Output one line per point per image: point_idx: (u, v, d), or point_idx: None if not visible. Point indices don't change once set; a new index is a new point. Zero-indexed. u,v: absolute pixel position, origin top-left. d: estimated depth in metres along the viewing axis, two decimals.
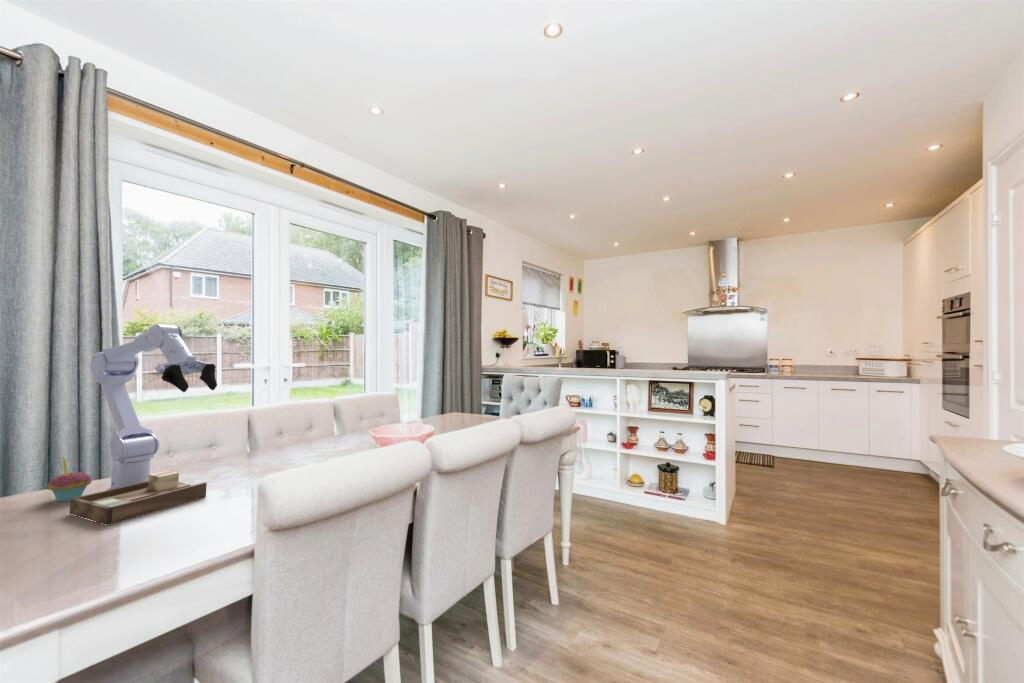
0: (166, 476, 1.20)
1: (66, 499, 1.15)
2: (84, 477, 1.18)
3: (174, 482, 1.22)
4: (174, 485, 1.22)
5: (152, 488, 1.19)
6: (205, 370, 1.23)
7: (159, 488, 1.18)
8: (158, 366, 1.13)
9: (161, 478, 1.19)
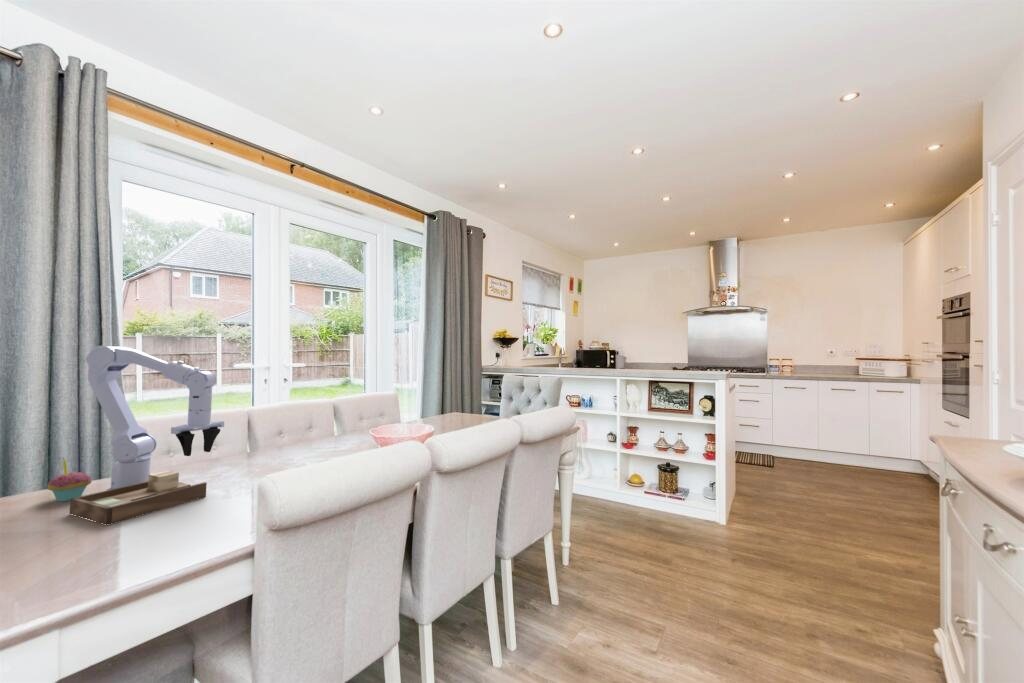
0: (166, 476, 1.20)
1: (66, 499, 1.15)
2: (84, 477, 1.18)
3: (174, 482, 1.22)
4: (174, 485, 1.22)
5: (152, 488, 1.19)
6: (209, 432, 1.33)
7: (159, 488, 1.18)
8: (174, 429, 1.23)
9: (161, 478, 1.19)
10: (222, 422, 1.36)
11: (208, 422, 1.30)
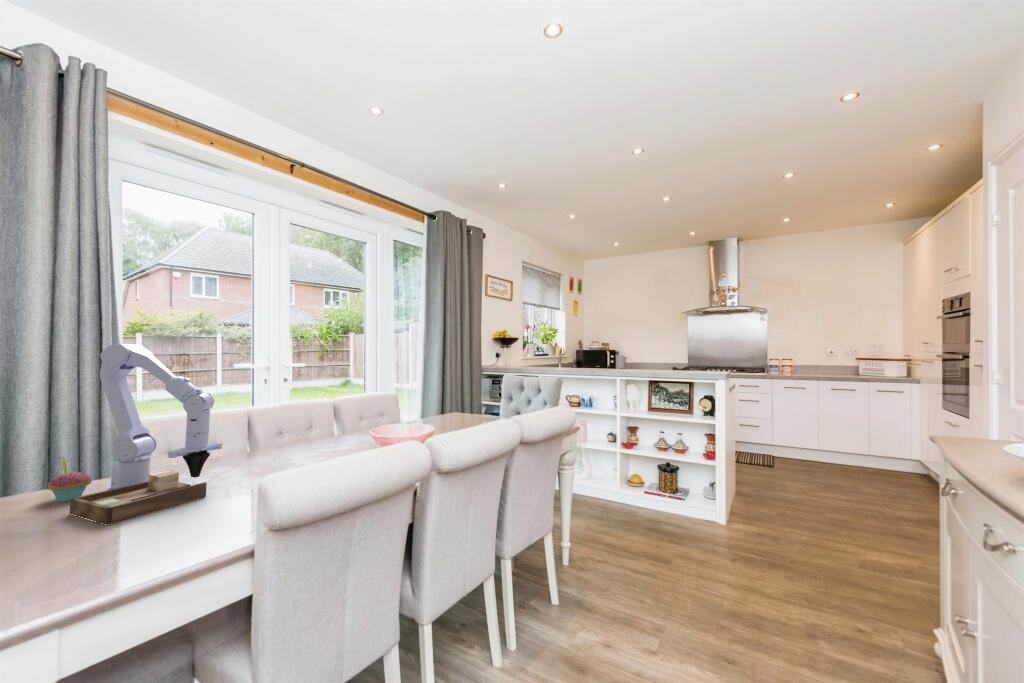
0: (166, 476, 1.20)
1: (66, 499, 1.15)
2: (84, 477, 1.18)
3: (174, 482, 1.22)
4: (174, 485, 1.22)
5: (152, 488, 1.19)
6: None
7: (159, 488, 1.18)
8: (171, 454, 1.23)
9: (161, 478, 1.19)
10: (220, 444, 1.36)
11: (206, 445, 1.30)
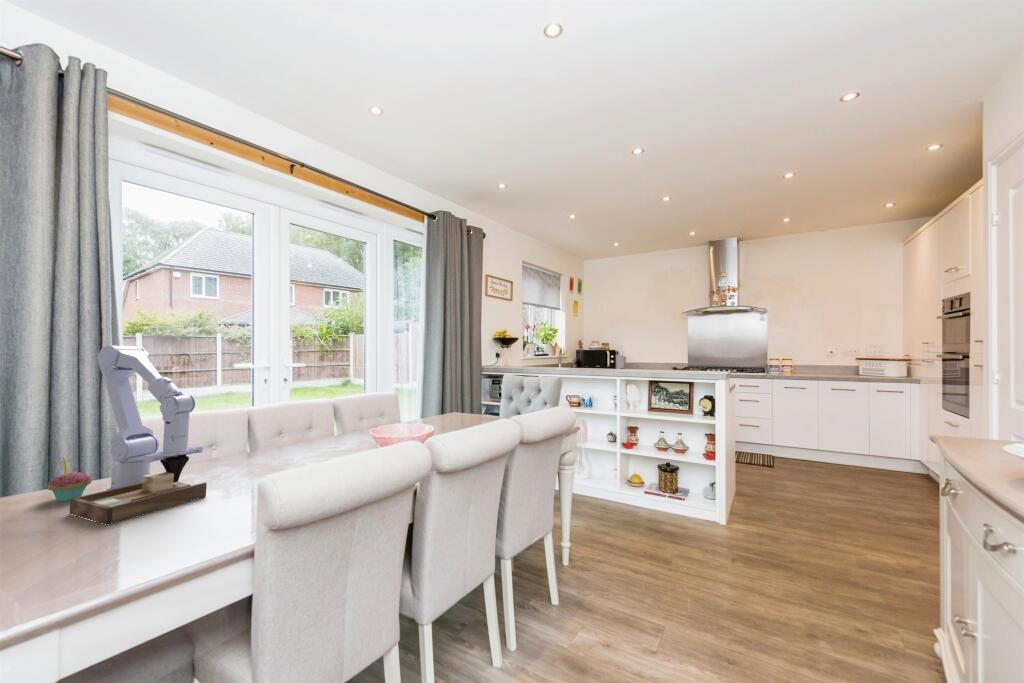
0: (161, 477, 1.19)
1: (66, 499, 1.15)
2: (84, 477, 1.18)
3: (169, 484, 1.21)
4: (169, 486, 1.21)
5: (146, 489, 1.18)
6: None
7: (154, 489, 1.17)
8: (148, 458, 1.17)
9: (156, 479, 1.17)
10: (200, 447, 1.30)
11: (185, 449, 1.24)
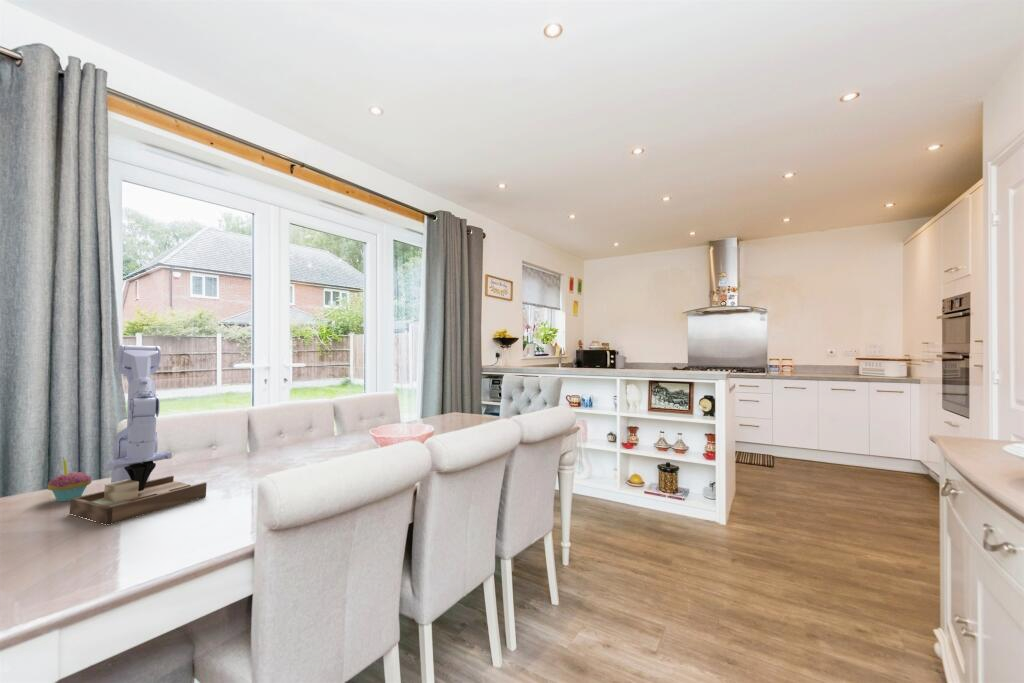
0: (124, 486, 1.11)
1: (66, 499, 1.15)
2: (84, 477, 1.18)
3: (133, 492, 1.12)
4: (133, 495, 1.13)
5: (108, 499, 1.10)
6: None
7: (116, 499, 1.09)
8: (109, 465, 1.09)
9: (118, 488, 1.09)
10: (169, 453, 1.22)
11: (151, 455, 1.16)
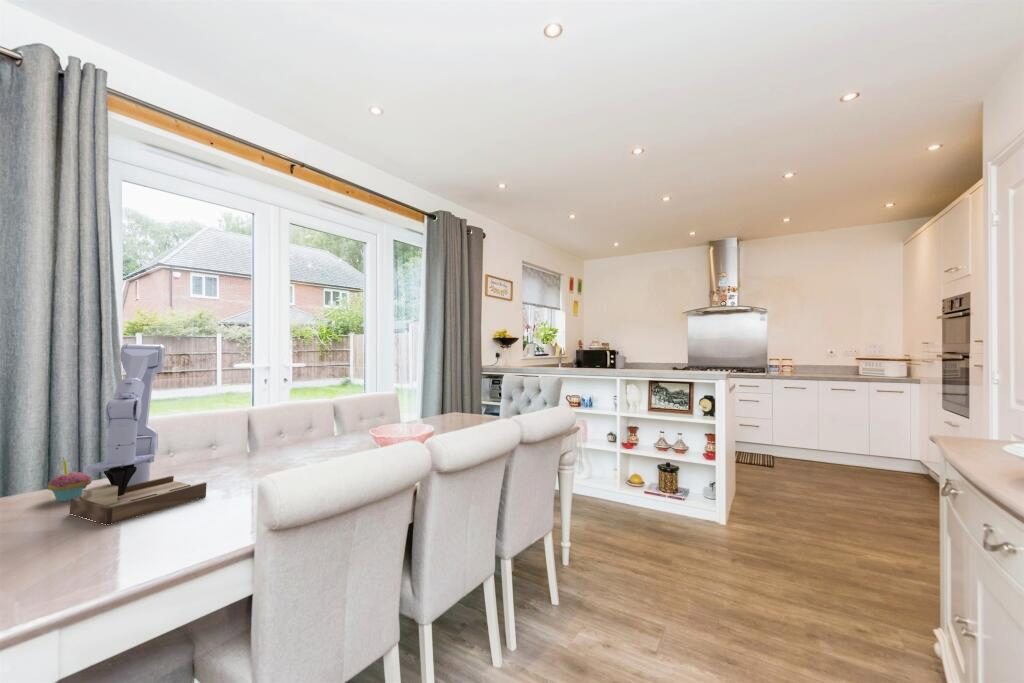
0: (102, 491, 1.06)
1: (66, 499, 1.15)
2: (84, 477, 1.18)
3: (112, 498, 1.08)
4: (112, 501, 1.08)
5: None
6: None
7: None
8: (86, 469, 1.05)
9: (96, 493, 1.05)
10: (151, 456, 1.18)
11: (132, 458, 1.12)
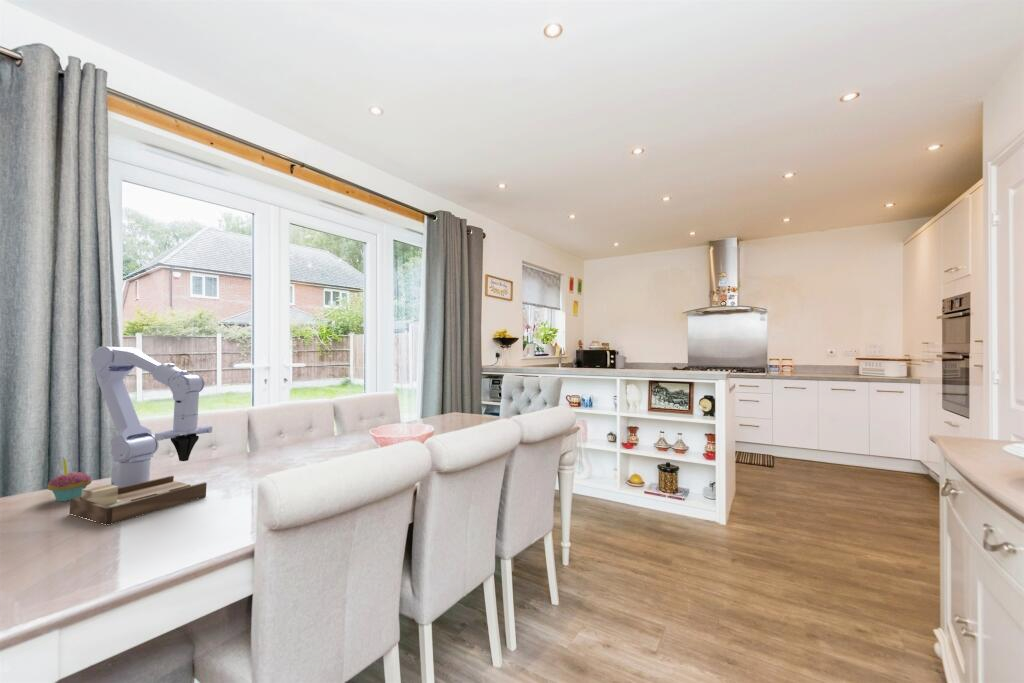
0: (102, 491, 1.06)
1: (66, 499, 1.15)
2: (84, 477, 1.18)
3: (112, 498, 1.08)
4: (112, 501, 1.08)
5: None
6: None
7: None
8: (158, 436, 1.18)
9: (95, 493, 1.05)
10: (210, 427, 1.31)
11: (194, 428, 1.25)
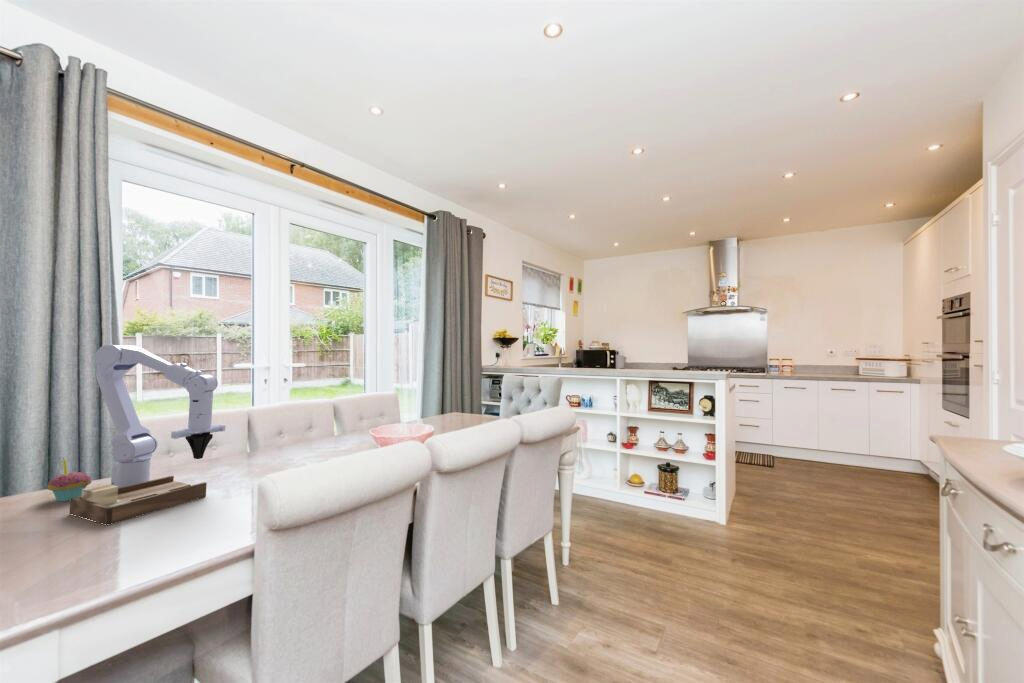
0: (102, 491, 1.06)
1: (66, 499, 1.15)
2: (84, 477, 1.18)
3: (112, 498, 1.08)
4: (112, 501, 1.08)
5: None
6: None
7: None
8: (174, 434, 1.22)
9: (95, 493, 1.05)
10: (223, 426, 1.34)
11: (209, 426, 1.29)
